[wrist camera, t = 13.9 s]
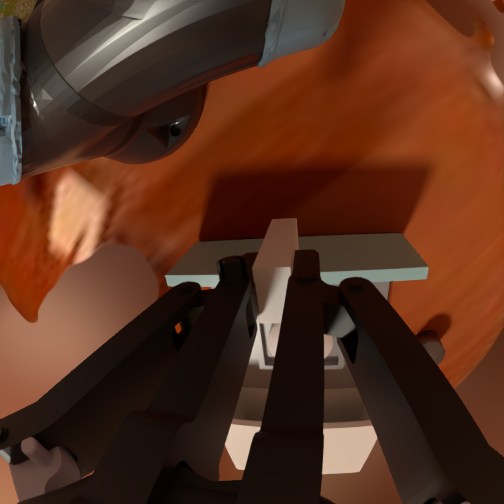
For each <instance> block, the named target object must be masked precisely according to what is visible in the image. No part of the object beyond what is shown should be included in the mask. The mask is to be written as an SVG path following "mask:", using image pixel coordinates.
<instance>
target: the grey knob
mask: <svg viewBox="0 0 504 504" xmlns="http://www.w3.org/2000/svg"><path fill="white" fill-rule="evenodd" d="M416 337H417V339H418V340H419V341H420V343H421V344H422V345H423V347H424V348H425V349H426V351H427V352H428V353H429V355H430V356H431V357H432V359H433V360H434V362H435V363H436V364H437V365H438V364H439V363H440V362H441V361H442V360H443V358H444V356H445V349H444V347H443V345H442V343H441V341H440V339H439V337H438V335H437V333H436V332H435V331H432V330H427V331H424V332H421V333H419V334H418V335H416Z"/></svg>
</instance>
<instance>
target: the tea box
mask: <svg viewBox="0 0 504 504" xmlns="http://www.w3.org/2000/svg"><path fill="white" fill-rule="evenodd" d="M42 1H43V0H0V18H6V17H8V16H10V15H14V16H17V17H18V18H20V19H23V18H26V17H27V16H28V15H29V14H30V13H31V12H32V11H33V10H34V9H35V8H36V7H37V6H38V5H39V4H40V3H41V2H42Z"/></svg>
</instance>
